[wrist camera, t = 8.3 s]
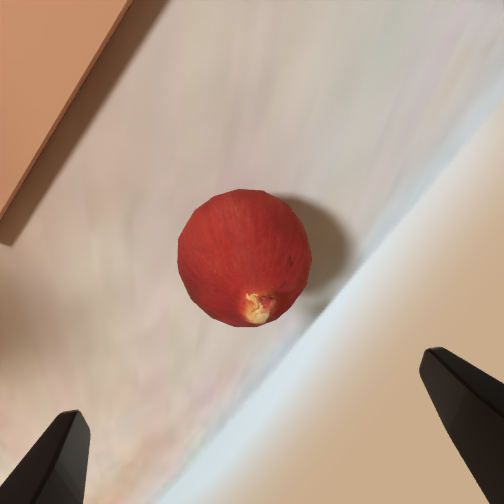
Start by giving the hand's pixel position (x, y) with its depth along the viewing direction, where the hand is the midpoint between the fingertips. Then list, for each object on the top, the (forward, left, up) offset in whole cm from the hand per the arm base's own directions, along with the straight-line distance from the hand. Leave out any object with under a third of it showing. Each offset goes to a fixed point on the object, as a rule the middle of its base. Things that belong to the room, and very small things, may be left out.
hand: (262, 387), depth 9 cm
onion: (0, +1, -11) cm, 11 cm away
